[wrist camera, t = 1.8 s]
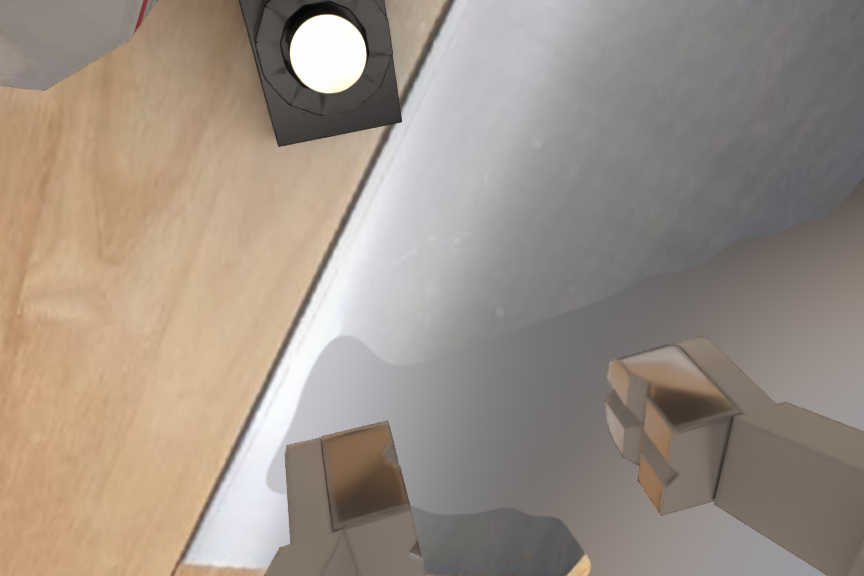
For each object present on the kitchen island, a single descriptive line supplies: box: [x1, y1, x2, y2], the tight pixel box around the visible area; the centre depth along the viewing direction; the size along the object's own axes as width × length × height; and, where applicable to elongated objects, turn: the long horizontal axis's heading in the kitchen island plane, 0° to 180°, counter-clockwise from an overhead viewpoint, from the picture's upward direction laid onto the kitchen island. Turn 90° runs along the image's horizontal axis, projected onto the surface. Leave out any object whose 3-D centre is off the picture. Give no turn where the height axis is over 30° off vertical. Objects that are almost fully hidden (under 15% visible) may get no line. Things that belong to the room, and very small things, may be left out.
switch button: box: [287, 8, 367, 94], centre depth 30 cm, size 4×4×2 cm
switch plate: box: [239, 0, 402, 147], centre depth 32 cm, size 7×10×4 cm
